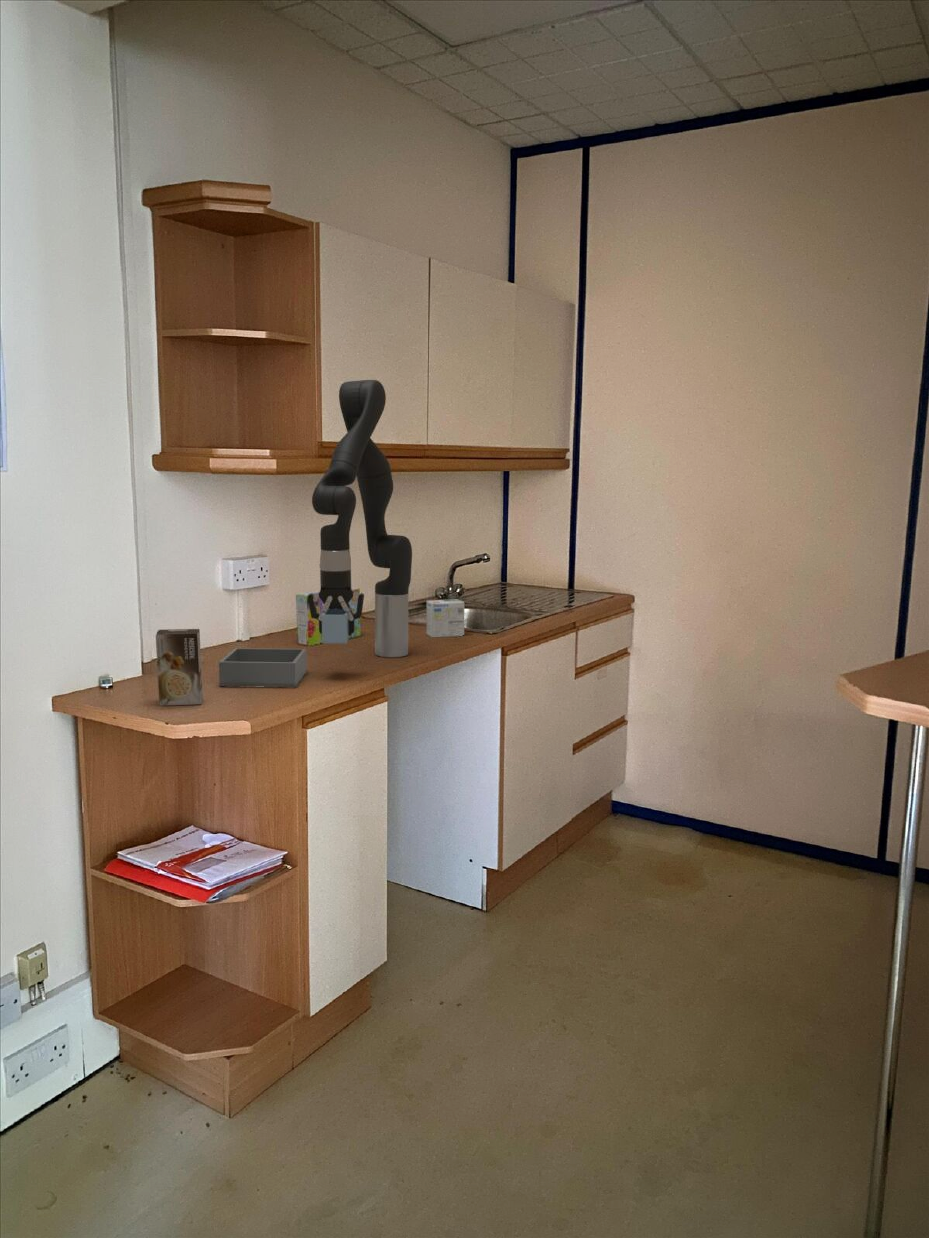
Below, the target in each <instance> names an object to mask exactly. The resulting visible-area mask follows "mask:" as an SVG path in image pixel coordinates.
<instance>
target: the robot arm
mask: <svg viewBox="0 0 929 1238" xmlns="http://www.w3.org/2000/svg"><path fill="white" fill-rule="evenodd" d="M385 390H386V389H385V387H384V386H383V384H382V382H380V381H379V380H376V379H363V380H361V379H360V380H352V381H351V380H350V381H349V380H348V381H345V382H343V383H342V384H341V385H340V386H339V391H338V401H339V406H340V410H341V414H342V415H341V416H342V418H343V422H344V425H345V429H346V432H347V433H346V434H345V435H344V436H343V437H342V438H341V439H340V440H339V442H338V443H337V445H336V447H335V448H334V450H333V453H332V456H331V460H330V463H329V465H328V469H327V470H326V471H325V473H324V474H323V476H322V478H321V479H320V481H319V482H318V483H317V484H316V487H315V488H314V491H313V493H312V496H311V504H312V508H313V510H314V511H315V513H317V514H319V515H323V516H337V520H336V521H335V522H334V523H332V524H331V523H330V524H327V525H326V524H325V525H323V526H322V527H321V529H320V556H319V572H320V573H319V577H320V579H319V580H320V588H319V589H320V590H319V591H320V592H319V593H315V594H313V593H310V594H309V595H308V601H309V607H310V613H311V617H312V618H315V619H318V621H319V632H320V633H322V614H323V613H326V612H327V611H328V609H335V608H337V609H344V611H345V613H348V618H349V621H348V628H349V636H351V635H352V633H354V630H355V623H354V621H355V619H357V618H360V619H361V617H362V615H363V610H364V608H363V607H364V600H365V594H364V593H363V592H360V594H357V593H353V591H352V589H351V587H352V560H351V559H352V558H351V551H350V547H351V545H350V544H351V543H350V533H351V532H350V531H351V527H352V521H353V517H354V513H355V509H356V505H357V497H356V493H355V491H354V489H353V488H351V487H350V485H352V484H353V483H354V482H355V481H356V480H357V486H358V490H359V494H360V499H361V504H362V510H363V516H364V522H365V523H364V524H365V531H366V545H367V552H368V557H369V560H370V562H371V563H372V565H373V566H375V567H376V568H381V569H389V572H388V577H386V578H385V579H383V580H380V581H377V582H376V583H375V585H374V655H375V656H378V657H381V658H401V657H406V656H408V655H409V588H410V584H411V581H412V563H413V548H412V543H411V541H410V539H409V538H408V537H406V536H405V535H395V534H388V532H387V529H386V522H385V515H386V511H387V508H388V506H389V503H390V501H391V498H392V495H393V493H394V481H393V475H392V469H391V464H390V462H389V460H388V459H387V457H386V455H385V453H383V451H382V450H381V449H380V447H378V445H377V444H376V443H375V442H374V440H373V439H372V438H371V437H372V435H373V433H374V431H375V429H376V427H377V425H378V423H379V421H380V419H381V417H382V414H383V412H384V410H385V407H386V402H387V396H386V391H385ZM318 597H319V598H320V599H321V600H322V601H323V603H324V607H323V609H322V611H321V613H320V614H319V613H317V610H316V604H315V602H316V601H317V600H318ZM352 597H354V598H355V602H357V603H358V604H357V612H356V613H355V614H353V612H352V610H351V607H350V605H349V602H350V600H351V599H352Z"/></svg>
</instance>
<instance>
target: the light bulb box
mask: <svg viewBox="0 0 929 1238" xmlns="http://www.w3.org/2000/svg"><path fill="white" fill-rule="evenodd" d="M425 604H426V635H427V636H429V637H431V638H432V639H433V638H448V637H464V636H465V601H463V600H461V599H457V598H455V599H438V600H436V599H435V600H426V603H425ZM463 635H464V636H463Z"/></svg>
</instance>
